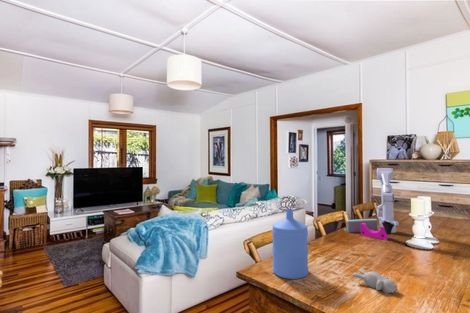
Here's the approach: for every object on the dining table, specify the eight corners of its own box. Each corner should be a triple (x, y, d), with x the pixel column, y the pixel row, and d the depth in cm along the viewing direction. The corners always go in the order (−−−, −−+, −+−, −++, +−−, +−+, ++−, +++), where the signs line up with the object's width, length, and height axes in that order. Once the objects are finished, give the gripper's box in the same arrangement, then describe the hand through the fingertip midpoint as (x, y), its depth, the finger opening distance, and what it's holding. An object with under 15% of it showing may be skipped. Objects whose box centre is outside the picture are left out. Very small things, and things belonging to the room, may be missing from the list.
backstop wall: (371, 228, 193) (371, 217, 193) (377, 230, 187) (377, 219, 187) (343, 230, 190) (343, 219, 190) (348, 232, 184) (348, 221, 184)
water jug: (301, 283, 109) (301, 214, 110) (266, 274, 118) (266, 210, 118) (312, 269, 123) (312, 208, 123) (280, 262, 131) (280, 205, 131)
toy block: (388, 237, 171) (388, 226, 171) (386, 239, 166) (385, 227, 166) (364, 233, 181) (364, 222, 181) (360, 235, 177) (360, 223, 177)
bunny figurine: (390, 287, 97) (351, 269, 109) (389, 300, 98) (350, 281, 109) (401, 279, 103) (362, 263, 115) (399, 292, 104) (361, 274, 115)
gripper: (374, 210, 171) (374, 231, 171) (391, 214, 157) (391, 238, 157) (384, 209, 172) (384, 231, 172) (401, 214, 158) (401, 237, 158)
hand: (388, 234), depth 165 cm, fingers closed
